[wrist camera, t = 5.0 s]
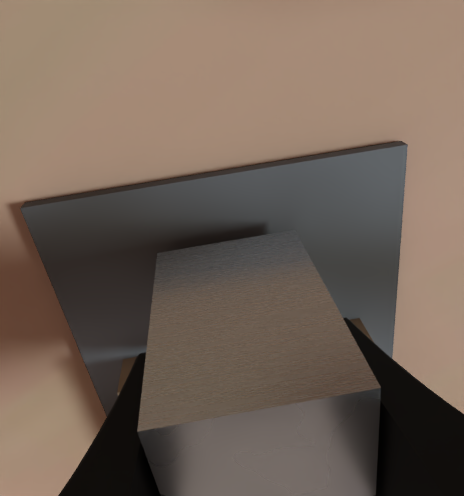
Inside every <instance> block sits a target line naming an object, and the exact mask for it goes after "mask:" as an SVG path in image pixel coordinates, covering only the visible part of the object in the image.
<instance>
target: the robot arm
mask: <svg viewBox="0 0 464 496" xmlns="http://www.w3.org/2000/svg"><path fill="white" fill-rule="evenodd" d="M343 319H344V321H345V323H346V325H347V326H348V328H349V330H350V332H351V334H352V336H353V337H354V339H355V341H356V343H357V345H358V347H359V348H360V350H361V352H362V354H363V356H364V357H365V359H366V361H367V363H368V365H369V367H370V368H371V370H372V372H373V374H374V376H375V378H376V379H377V381H378V383H379V385H380V387H381V400H380V420H379V440H378V460H377V480H376V496H464V414H463V413H461V412H460V411H458V410H457V409H456V408H454V407H453V406H451V405H450V404H449V403H447V402H446V401H445V400H443V399H442V398H441V397H439V396H438V395H437V394H435V393H434V392H433V391H431V390H430V389H429V388H427V387H426V386H425V385H424V384H422V383H421V382H420V381H418V380H417V379H416V378H415V377H413V376H412V375H411V374H410V373H409V372H407V371H406V370H405V369H404V368H403V367H401V366H400V365H399V364H398V363H397V362H395V361H394V360H393V359H392V358H391V357H390V356H388V355H387V354H386V353H385V352H384V351H383V350H382V349H381V348H379V347H378V346H377V345H376V344H375V343H374V342H373V341H372V340H371V339H369V338H368V337H367V336H366V335H365V334H364V333H363V332H362V331H361V330H360V329H359V328H358V327H357V326H356V325H354V324H353V323H352V322H351V321H350V320H349V319H348V318H346V317H345V318H343ZM145 358H146V352H145V353H140V354H139V355H138V356H137V358H136V360H135V362H134V364H133V366H132V369H131V371H130V373H129V375H128V377H127V379H126V381H125V383H124V385H123V387H122V389H121V391H120V393H119V395H118V397H117V399H116V401H115V403H114V405H113V407H112V409H111V411H110V412H109V414H108V416H107V418H106V420H105V422H104V424H103V425H102V427H101V429H100V431H99V432H98V434H97V436H96V438H95V439H94V441H93V443H92V444H91V446H90V447H89V449H88V451H87V452H86V454H85V456H84V457H83V459H82V461H81V462H80V464H79V466H78V467H77V469H76V470H75V472H74V473H73V475H72V476H71V478H70V479H69V481H68V482H67V484H66V485H65V487H64V488H63V490H62V491H61V493H60V494H59V496H161V495H160V492H159V490H158V487H157V484H156V482H155V479H154V476H153V473H152V471H151V468H150V465H149V463H148V460H147V457H146V454H145V452H144V449H143V446H142V443H141V441H140V438H139V435H138V433H137V429H138V420H139V412H140V403H141V394H142V385H143V376H144V367H145Z"/></svg>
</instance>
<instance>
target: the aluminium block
mask: <svg viewBox="0 0 464 496" xmlns="http://www.w3.org/2000/svg"><path fill="white" fill-rule="evenodd" d="M380 400H381V387H380V385H379V383H378V381H377V379H376V378H375V376H374V374H373V372H372V370H371V368H370V367H369V365H368V363H367V361H366V359H365V357H364V356H363V354H362V352H361V350H360V348H359V347H358V345H357V343H356V341H355V339H354V337H353V336H352V334H351V332H350V330H349V328H348V326H347V325H346V323H345V321H344V319H343V317H342V315H341V314H340V312H339V310H338V308H337V306H336V304H335V303H334V301H333V299H332V297H331V295H330V293H329V292H328V290H327V288H326V286H325V284H324V283H323V281H322V279H321V277H320V275H319V273H318V272H317V270H316V268H315V266H314V264H313V262H312V261H311V259H310V257H309V255H308V253H307V251H306V250H305V248H304V246H303V244H302V242H301V240H300V239H299V237H298V235H297V233H296V231H295V230H290V231H285V232H279V233H273V234H267V235H261V236H255V237H249V238H243V239H237V240H231V241H225V242H220V243H214V244H208V245H202V246H196V247H190V248H184V249H178V250H172V251H166V252H160V253H157V261H156V270H155V279H154V288H153V296H152V305H151V314H150V323H149V332H148V341H147V350H146V358H145V367H144V376H143V385H142V394H141V403H140V412H139V420H138V429H137V433H138V435H139V438H140V441H141V443H142V446H143V449H144V452H145V454H146V457H147V460H148V463H149V465H150V468H151V471H152V473H153V476H154V479H155V482H156V484H157V487H158V490H159V492H160V495H161V496H376V480H377V460H378V440H379V420H380Z"/></svg>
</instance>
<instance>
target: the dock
mask: <svg viewBox="0 0 464 496" xmlns="http://www.w3.org/2000/svg"><path fill="white" fill-rule="evenodd" d="M407 146H408V145H407V144H406V143H404V142H402V141H399V142H392V143H386V144H380V145H374V146H368V147H362V148H356V149H350V150H344V151H337V152H331V153H325V154H319V155H313V156H307V157H301V158H295V159H289V160H283V161H276V162H270V163H264V164H258V165H252V166H246V167H240V168H234V169H228V170H221V171H215V172H209V173H203V174H197V175H191V176H185V177H179V178H173V179H167V180H160V181H154V182H148V183H142V184H136V185H130V186H124V187H118V188H112V189H105V190H99V191H93V192H87V193H81V194H75V195H69V196H63V197H57V198H51V199H44V200H38V201H32V202H26V203H24V204H23V205H22V207H21V208H20V209H21V211H22V214H23V216H24V219H25V221H26V223H27V226H28V228H29V231H30V233H31V235H32V238H33V240H34V243H35V245H36V247H37V250H38V252H39V255H40V257H41V259H42V262H43V264H44V267H45V269H46V271H47V274H48V276H49V279H50V281H51V283H52V286H53V288H54V291H55V293H56V295H57V298H58V300H59V303H60V305H61V307H62V310H63V312H64V315H65V317H66V319H67V322H68V324H69V327H70V329H71V331H72V334H73V336H74V339H75V341H76V343H77V346H78V348H79V351H80V353H81V355H82V358H83V360H84V363H85V365H86V368H87V370H88V372H89V375H90V377H91V380H92V382H93V384H94V387H95V389H96V392H97V394H98V396H99V399H100V401H101V404H102V406H103V408H104V411H105V413H106V416H108V414H109V412H110V411H111V409H112V407H113V405H114V403H115V401H116V399H117V397H118V395H119V393H120V391H121V389H122V387H123V385H124V383H125V381H126V379H127V377H128V375H129V373H130V371H131V369H132V366H133V364H134V362H135V360H136V358H137V356H138V355H139V354H140V353H145V352H146V350H147V341H148V332H149V323H150V314H151V305H152V296H153V288H154V279H155V270H156V261H157V253H160V252H166V251H172V250H178V249H184V248H190V247H196V246H202V245H208V244H214V243H220V242H225V241H231V240H237V239H243V238H249V237H255V236H261V235H267V234H273V233H279V232H285V231H290V230H295V231H296V233H297V235H298V237H299V239H300V240H301V242H302V244H303V246H304V248H305V250H306V251H307V253H308V255H309V257H310V259H311V261H312V262H313V264H314V266H315V268H316V270H317V272H318V273H319V275H320V277H321V279H322V281H323V283H324V284H325V286H326V288H327V290H328V292H329V293H330V295H331V297H332V299H333V301H334V303H335V304H336V306H337V308H338V310H339V312H340V314H341V315H342V317H343V318H345V317H346V318H348V319H349V320H350V321H351V322H352V323H353V324H354V325H356V326H357V327H358V328H359V329H360V330H361V331H362V332H363V333H364V334H365V335H366V336H367V337H368V338H369V339H371V340H372V341H373V342H374V343H375V344H376V345H377V346H378V347H379V348H381V349H382V350H383V351H384V352H385V353H386V354H387V355H388V356H390V357H391V358H392V354H393V340H394V326H395V312H396V298H397V284H398V271H399V257H400V243H401V229H402V215H403V201H404V187H405V173H406V159H407Z"/></svg>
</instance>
